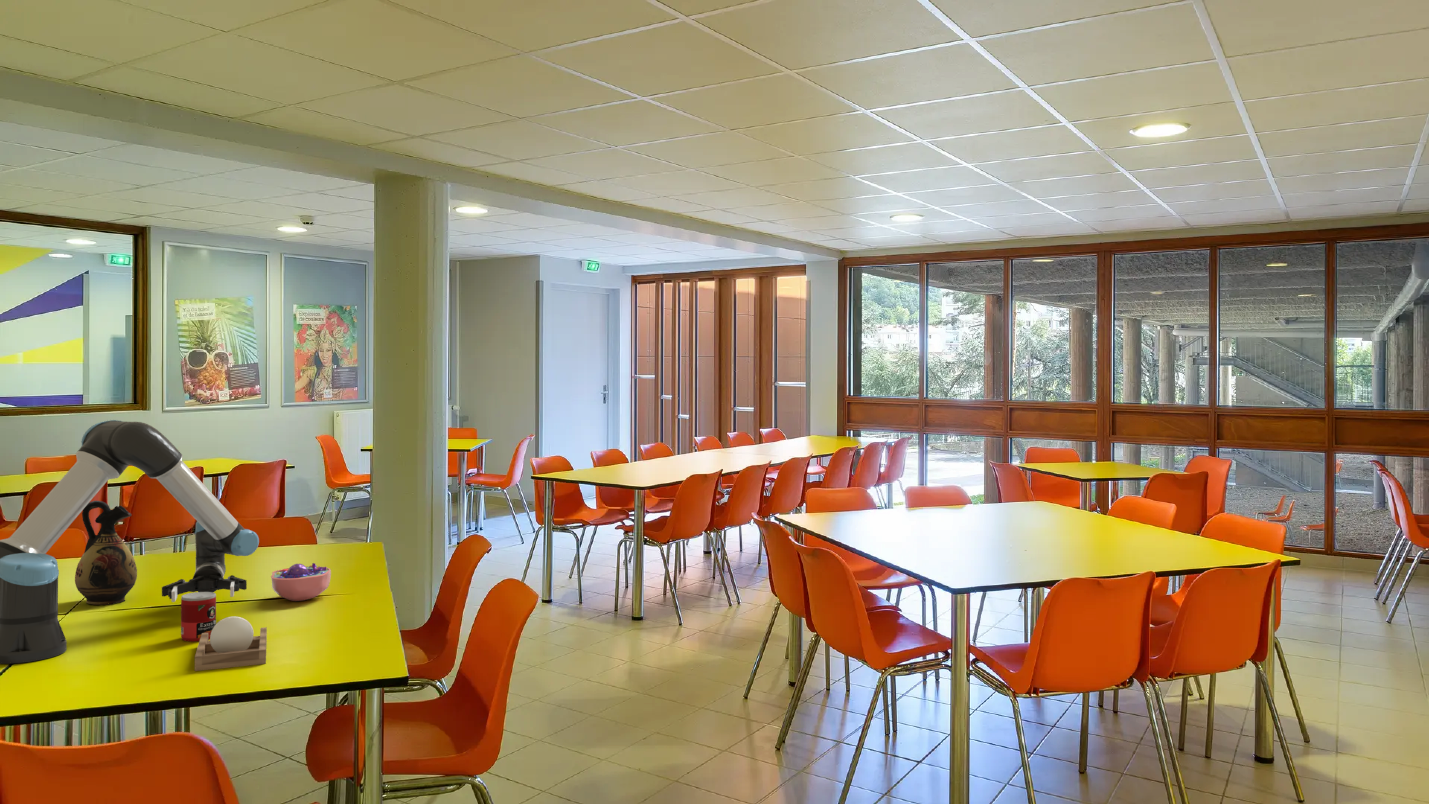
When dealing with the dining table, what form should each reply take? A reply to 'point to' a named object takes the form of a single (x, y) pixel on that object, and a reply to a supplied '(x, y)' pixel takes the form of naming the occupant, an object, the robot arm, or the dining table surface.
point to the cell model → (301, 581)
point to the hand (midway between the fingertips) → (202, 594)
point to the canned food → (197, 615)
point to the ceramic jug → (105, 559)
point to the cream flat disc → (231, 635)
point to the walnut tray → (230, 654)
